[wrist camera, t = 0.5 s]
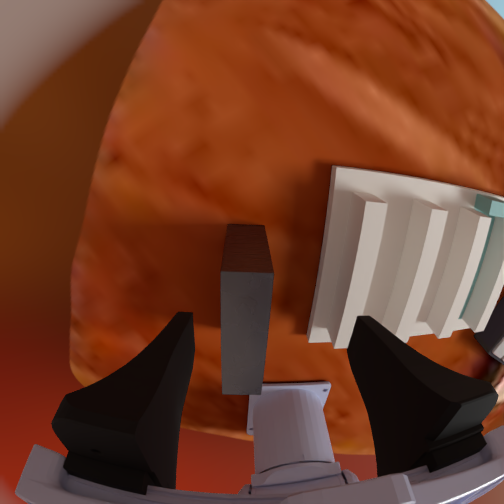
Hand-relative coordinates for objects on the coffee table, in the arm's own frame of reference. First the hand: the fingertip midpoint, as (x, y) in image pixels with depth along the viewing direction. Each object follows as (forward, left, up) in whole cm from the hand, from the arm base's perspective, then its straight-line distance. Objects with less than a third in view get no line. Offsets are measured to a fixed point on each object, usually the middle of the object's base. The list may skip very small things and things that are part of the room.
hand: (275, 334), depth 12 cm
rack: (-1, -14, -9) cm, 17 cm away
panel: (-3, +1, -10) cm, 10 cm away
